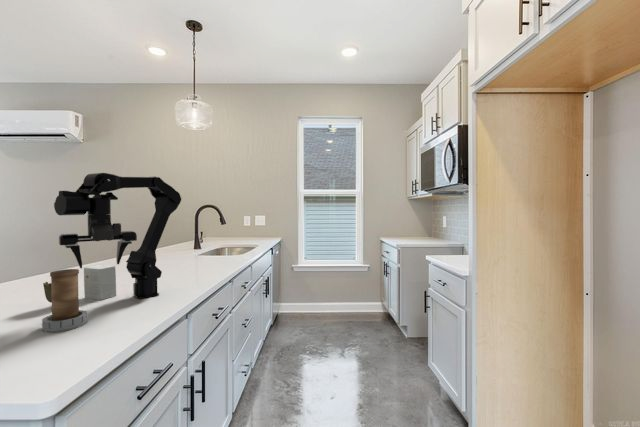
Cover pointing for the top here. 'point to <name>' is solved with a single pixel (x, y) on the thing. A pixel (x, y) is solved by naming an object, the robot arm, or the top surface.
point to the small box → (99, 282)
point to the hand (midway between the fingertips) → (100, 266)
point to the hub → (64, 323)
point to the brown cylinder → (64, 294)
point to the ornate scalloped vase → (48, 291)
